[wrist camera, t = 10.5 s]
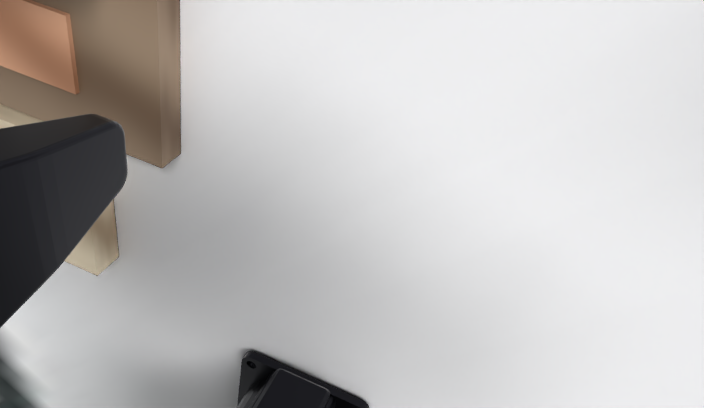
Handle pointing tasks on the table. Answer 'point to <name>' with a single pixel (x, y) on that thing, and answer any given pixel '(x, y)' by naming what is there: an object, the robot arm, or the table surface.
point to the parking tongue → (102, 236)
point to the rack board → (97, 66)
